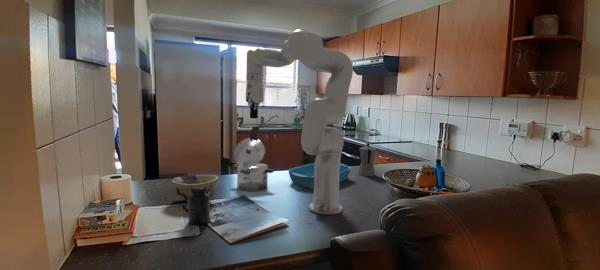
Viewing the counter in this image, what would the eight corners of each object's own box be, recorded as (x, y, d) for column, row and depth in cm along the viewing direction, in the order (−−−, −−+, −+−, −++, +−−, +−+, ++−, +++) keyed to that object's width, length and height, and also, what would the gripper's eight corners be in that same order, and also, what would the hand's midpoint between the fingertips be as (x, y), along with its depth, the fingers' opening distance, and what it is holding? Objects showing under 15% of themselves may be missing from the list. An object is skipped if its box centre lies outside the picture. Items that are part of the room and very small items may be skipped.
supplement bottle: (202, 216, 114) (201, 183, 113) (213, 221, 110) (213, 186, 108) (184, 221, 109) (183, 186, 107) (195, 227, 104) (195, 191, 103)
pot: (264, 194, 142) (264, 171, 141) (224, 189, 148) (224, 167, 146) (277, 185, 156) (277, 165, 155) (240, 181, 162) (240, 161, 161)
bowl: (226, 196, 137) (226, 174, 136) (202, 211, 120) (202, 185, 118) (189, 192, 141) (189, 170, 140) (161, 205, 124) (161, 180, 123)
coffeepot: (357, 171, 191) (358, 141, 189) (373, 172, 190) (375, 141, 188) (359, 178, 176) (361, 145, 174) (377, 178, 175) (379, 145, 173)
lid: (260, 169, 142) (258, 167, 140) (230, 166, 146) (228, 164, 144) (271, 129, 151) (269, 127, 149) (242, 127, 155) (241, 125, 153)
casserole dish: (315, 194, 145) (316, 178, 144) (279, 184, 159) (279, 170, 159) (357, 179, 173) (358, 166, 173) (323, 172, 188) (324, 160, 187)
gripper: (255, 77, 140) (254, 119, 142) (268, 79, 154) (267, 117, 156) (239, 76, 142) (238, 118, 144) (254, 78, 156) (253, 116, 159)
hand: (253, 118), depth 150 cm, fingers closed
